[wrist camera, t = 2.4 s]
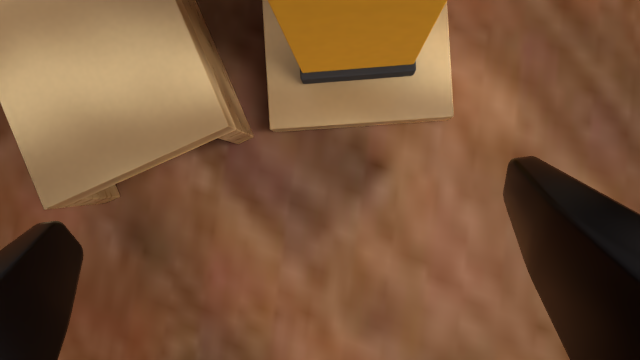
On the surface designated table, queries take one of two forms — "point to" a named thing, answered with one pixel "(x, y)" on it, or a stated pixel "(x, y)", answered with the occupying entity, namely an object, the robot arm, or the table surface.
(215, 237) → the table surface
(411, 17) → the rain boot
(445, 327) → the table surface
